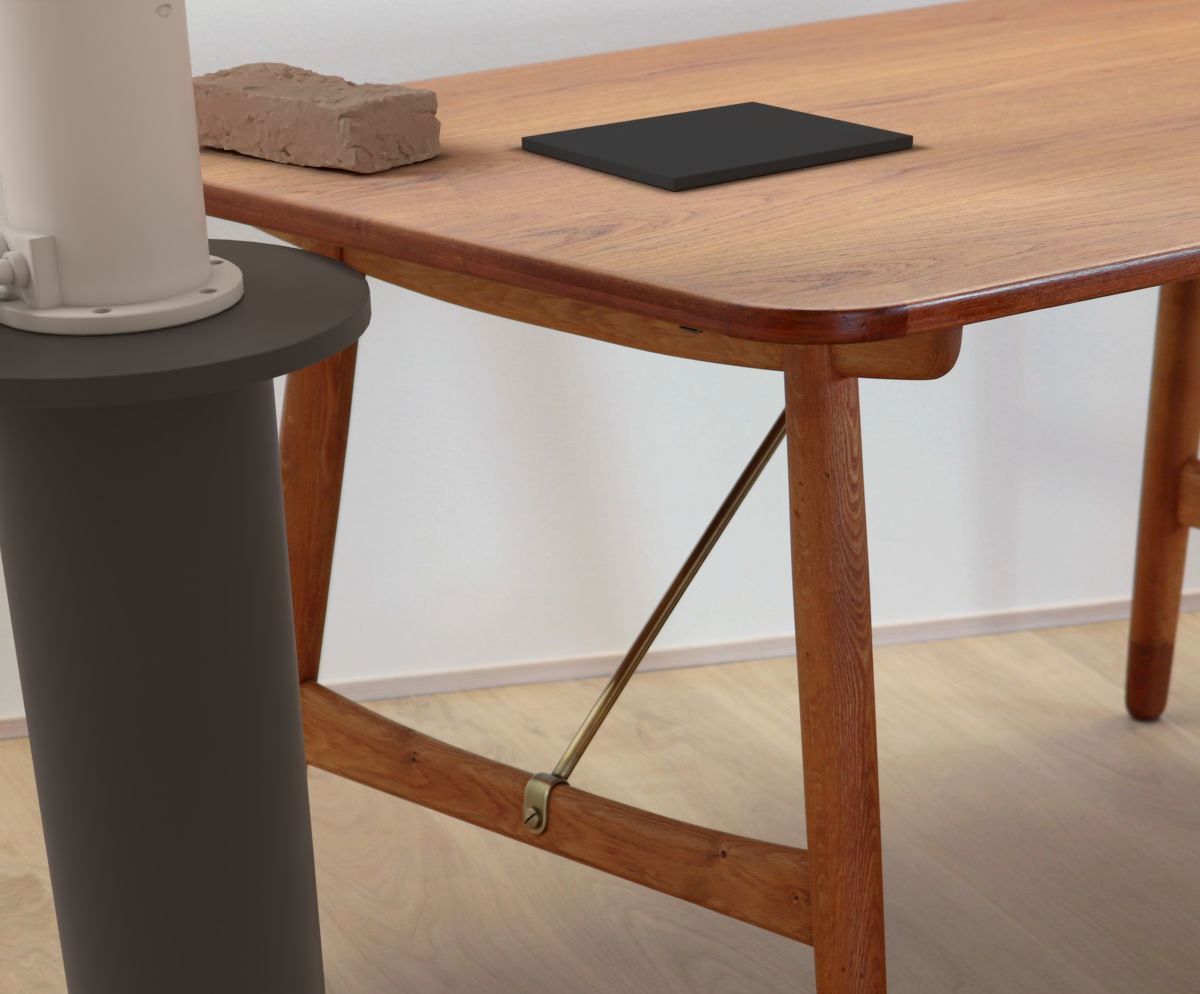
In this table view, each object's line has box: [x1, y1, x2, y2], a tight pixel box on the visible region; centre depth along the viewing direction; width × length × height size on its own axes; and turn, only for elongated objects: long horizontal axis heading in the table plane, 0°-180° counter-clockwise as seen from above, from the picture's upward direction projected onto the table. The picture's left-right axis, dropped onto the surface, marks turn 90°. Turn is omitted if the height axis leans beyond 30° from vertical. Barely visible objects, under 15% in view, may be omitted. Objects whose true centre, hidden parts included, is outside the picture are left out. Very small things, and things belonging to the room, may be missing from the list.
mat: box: [521, 101, 914, 192], centre depth 126 cm, size 20×16×1 cm
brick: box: [192, 61, 442, 174], centre depth 126 cm, size 17×8×5 cm, turn 52°
